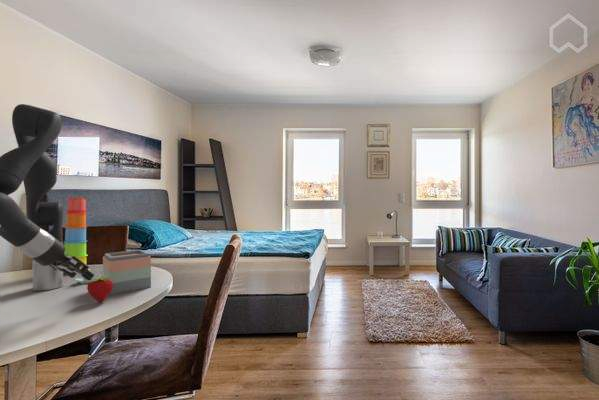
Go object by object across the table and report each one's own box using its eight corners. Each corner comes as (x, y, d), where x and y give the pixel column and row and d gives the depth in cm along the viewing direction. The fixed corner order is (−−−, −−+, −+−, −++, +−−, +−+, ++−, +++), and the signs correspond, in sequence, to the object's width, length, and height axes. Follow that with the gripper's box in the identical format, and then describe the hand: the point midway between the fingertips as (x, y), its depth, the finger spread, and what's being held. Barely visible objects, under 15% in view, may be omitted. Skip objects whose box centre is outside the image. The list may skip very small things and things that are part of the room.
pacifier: (76, 282, 130) (74, 285, 125) (76, 267, 130) (74, 269, 125) (97, 280, 134) (96, 283, 128) (97, 265, 134) (96, 267, 129)
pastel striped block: (109, 294, 113) (109, 258, 113) (103, 287, 122) (102, 253, 122) (150, 287, 123) (150, 253, 122) (142, 280, 132) (141, 249, 131)
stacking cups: (60, 271, 148) (59, 197, 147) (86, 267, 155) (85, 197, 154) (62, 275, 140) (61, 198, 140) (90, 271, 147) (89, 198, 146)
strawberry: (88, 301, 106) (87, 272, 106) (113, 297, 110) (113, 269, 110) (86, 306, 101) (85, 275, 101) (113, 302, 105) (112, 273, 105)
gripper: (66, 237, 89) (105, 268, 100) (37, 234, 95) (77, 264, 105) (45, 259, 84) (89, 289, 95) (15, 255, 90) (60, 284, 101)
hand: (83, 276), depth 100 cm, fingers open, 8 cm apart
